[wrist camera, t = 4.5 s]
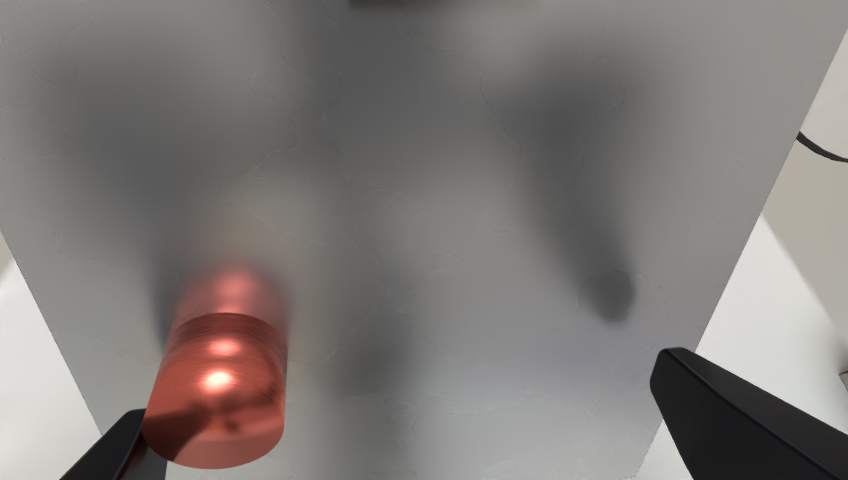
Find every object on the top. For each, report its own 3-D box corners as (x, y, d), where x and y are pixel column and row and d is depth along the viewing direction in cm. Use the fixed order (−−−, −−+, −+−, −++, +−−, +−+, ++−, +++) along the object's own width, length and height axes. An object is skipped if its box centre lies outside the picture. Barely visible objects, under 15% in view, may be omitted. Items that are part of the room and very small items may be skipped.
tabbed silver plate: (617, 443, 15) (666, 533, 13) (168, 507, 13) (141, 625, 11) (944, -344, 6) (1256, -457, 4) (-284, -536, 4) (-853, -929, 2)
